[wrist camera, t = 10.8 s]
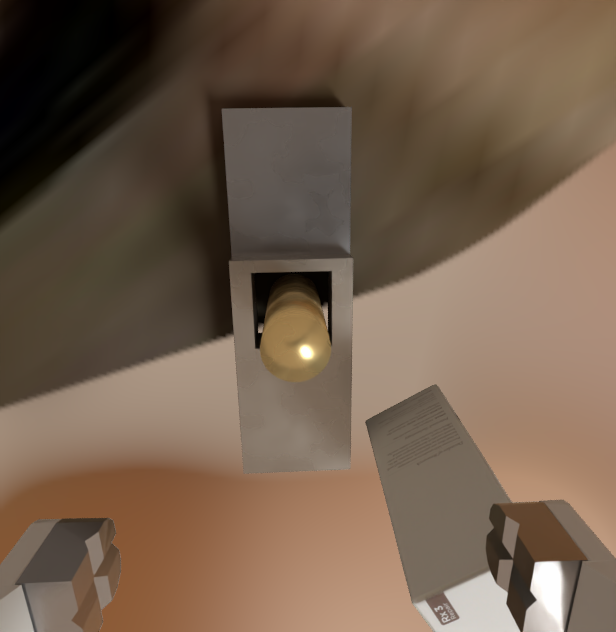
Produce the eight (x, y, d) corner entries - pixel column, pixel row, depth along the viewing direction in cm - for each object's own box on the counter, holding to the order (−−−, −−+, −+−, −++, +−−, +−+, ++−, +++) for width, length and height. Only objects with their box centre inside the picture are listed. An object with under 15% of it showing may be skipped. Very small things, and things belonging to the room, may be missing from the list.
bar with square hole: (348, 110, 25) (355, 102, 23) (345, 444, 32) (350, 469, 29) (225, 112, 25) (217, 104, 23) (247, 448, 32) (243, 473, 29)
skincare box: (481, 463, 33) (627, 679, 19) (410, 500, 34) (498, 735, 20) (431, 376, 31) (555, 547, 17) (356, 418, 31) (411, 616, 17)
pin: (318, 272, 28) (330, 315, 20) (318, 321, 29) (331, 381, 21) (267, 274, 28) (258, 316, 20) (269, 322, 29) (261, 383, 20)
